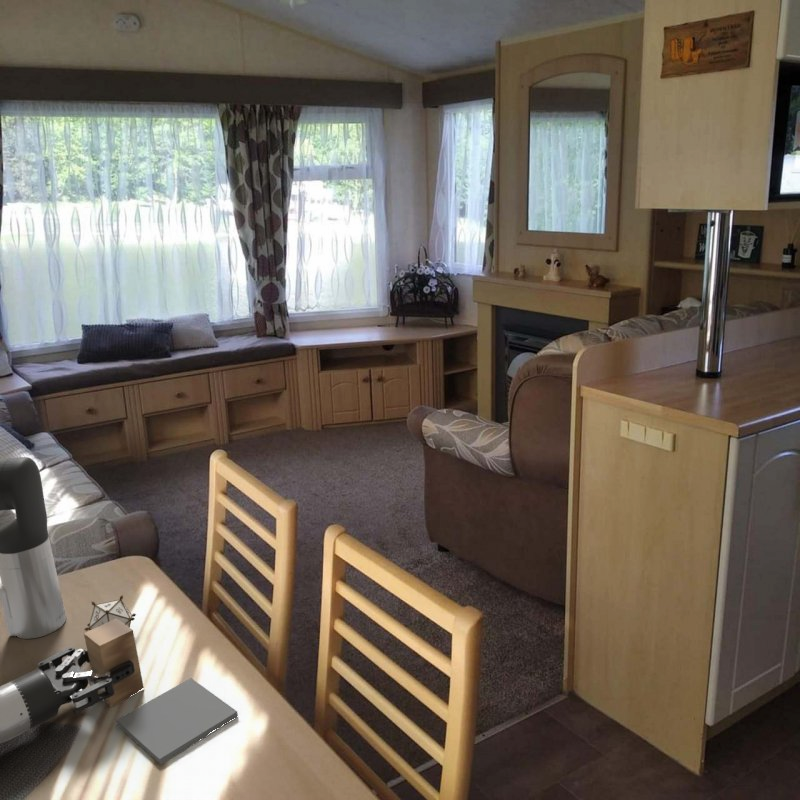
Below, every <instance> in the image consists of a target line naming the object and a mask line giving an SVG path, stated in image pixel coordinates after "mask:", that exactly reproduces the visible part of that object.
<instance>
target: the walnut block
mask: <svg viewBox="0 0 800 800" xmlns="http://www.w3.org/2000/svg"><path fill="white" fill-rule="evenodd" d="M83 637H84V640H85V641H84V642H85V645H86V649H87V652H88V656H89V661H90V663H89V665H90V671H94V672H95V673H100V672H107V671H108V670H110V669H112V668H114V667H116V666H118V665H120V664H122V663H124V662H126V661H128V660H130V661H132V662H133V664H134V670H135V671H134V673H133V674H132V675H131V676H129V677H127V678H124V679H123V680H121V681H119V682H117V683H115V684H114V686H113V688H114V693H115V694H114V695H113V696H111V697H109V698H107V699H105V700H104V702H106V703H107V704H108V705H109V706H110V707H111V708H113V707H115V706H116V705H118V704H120V703H122V702H124V701H126V700H128V699H130V698H131V697H130V696H131V695H133V694H135V693H137V692H138V691H139V690H141V689H142V688H144V683H143V678H142V671H141V666H140V662H139V661H140V660H139V657H138V649H137V645H136V640H135V633H134V629H132V628H131V627H130V628H129V627H128V626H127V625H125V624H124V623H122V622H121V621H120V620H118V619H117V618H116V619H114V620H112V621H109V622H107V623H105V624H103V625H101V626H99V627H96V628H94V629H92V630H88V631H85V632H84V633H83ZM96 681H97V683H98V682H101V681H103V679H101V680H96ZM144 689H145V688H144ZM103 692H105V690H103V691H98V695H99V694H101V693H103ZM137 694H138V693H137ZM135 695H136V694H135ZM133 696H134V695H133ZM129 697H130V698H129Z"/></svg>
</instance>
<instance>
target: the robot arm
mask: <svg viewBox="0 0 800 800" xmlns="http://www.w3.org/2000/svg"><path fill="white" fill-rule="evenodd" d="M0 511H1V512H2V511H15V518H14V519H12V520H10V521H8V522H6V523H4V524H2V525H0V582H1V587H0V603H1V608H2V612H3V617H4V620H5V624H6V629H7V634H8V636H9V637H16V636H17V638H19V639H26V640H27V639H36V638H41V637H43V636H47V635H49V634H51V633H54V632H55V631H57V630H58V629H60V628H61V627H62V626H63V625H64V624H65V623H66V621H67V616H66V608H65V606H64V605H65V604H64V601H63V596H62V592H61V587H60V583H59V577H58V573H57V569H56V565H55V564H56V563H55V560H54V555H53V554H54V553H53V550H52V545H51V541H50V540H51V539H50V537H49V536H50V535H49V531H48V514H47V509H46V503H45V495H44V489H43V482H42V477H41V473H40V469H39V467H38V465H37V463H36V462H35V461H34V459H32V458H30V457H28V456H16V457H15V456H14V457H6V458H5V457H4V458H3V457H2V458H0ZM65 657H66V658H65ZM64 658H65V659H64ZM63 659H64V660H63ZM86 663H88V664H90V661H89V656H88V652H87V648H85V649H83V648H78V649H75V646H69V647H67V648H65V649H62V650H61V651H59V652H57V653H55V654H53V655H50V656H49V657H47V658H45V659H43V660H41V661H39V662H38V663H37V667H38V669H37V668H36V669H34V670H32V671H30V672H28V673H26V674H24V675H22V676H19V677H18V678H15V679H13V680H11V681H8V682H7V683H5V684H3V685H1V686H0V744H2V743H5V742H8V741H10V740H12V739H14V738H16V737H18V736H21V734H24V733H26V732H27V731H29V730H32V729H33V728H35V727H38V726H39V725H41V724H43V723H45V722H47V721H49V720H50V719H53V718H54V717H56V716H57V715H58V714H59V710H60V708H61V707H62V706H64V705H66V704H70V703H71V704H72V705H73V709H74V712H76V713H80V712H82V711H84V710H86V709H88V708H90V707H92V706H94V705H96V704H99V703H100V702H103V701H105V699H107V698H109V697H111V696H113V695H114V694H115V693H114V688H113V686H114V684H115V683H117V682H119V681H121V680H123V679H124V678H127V677H129V676H131V675H132V674H133V673H134V671H135V670H134V664H133V662H132V661H130V660H128V661H126V662H124V663H122V664H120V665H118V666H116V667H114V668H112V669H110V670H108V671H107V672H100V673H95V672H94V671H91V670H89V671H86V670H84V669H83V667H84V666H85V665H86ZM101 679H103V681H101V682H98V683H97V681H96V680H101ZM88 685H89V686H88ZM103 690H105V692H103V693H101V694H99V695H98V691H103Z"/></svg>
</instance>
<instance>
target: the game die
mask: <svg viewBox="0 0 800 800" xmlns="http://www.w3.org/2000/svg"><path fill="white" fill-rule="evenodd" d="M123 598H124V595H122V594H121V596H120V597H119V599H115V600H111V601H105V602H102V603H97V604H96V602H95V601H90V602H91V605H92V606H93V610H92V613H91V617H90V620H89V621H90V622H89V623H87V624H86V625H87V627H85V628H84V629H83V631H85V632H88V631H90V630H92V629H94V628H96V627H99V626H101V625H103V624H105V623H107V622H109V621H112V620H114V619H116V618H117V619H118V620H120V621H121V622H122V623H124V624H125V625H127V626H128V627H129V628H131V623H132V621H134V620H136V619H135V618H134V617H136V616H137V614H136V613H131V612H130V610H129V609H128V607H127V605H126V604H125V603H124V602H123Z"/></svg>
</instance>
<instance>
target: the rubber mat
mask: <svg viewBox="0 0 800 800" xmlns="http://www.w3.org/2000/svg"><path fill="white" fill-rule="evenodd" d="M238 715H239V714H238V710H236V709H234V708H233V707H232V706H231V705H230V704H228V703H226V702H225V701H223V700H222V699H221V698H219V697H218V696H217V695H215V694H214V693H213V692H212V691H210V690H208V689H207V688H206V687H204V686H203V685H201V684H200V683H199V682H197V681H196V680H195V679H193V678H192V677H190V678H189V679H187V680H186V679H185V681H183V682H182V683H180V684H178V685H176V686H174V687H172V688H171V689H168V690H167V691H165V692H163V693H161V694H160V695H157V696H156V697H154V698H152V699H150V700H149V701H147V702H145V703H142V705H139V706H138V707H136V708H133V710H130V711H129V712H127V713H125V714H123V715H122V716H120V717H118V718H117V719H115V723H116V726H117V727H118V728H119V729H121V731H122V732H124V733H125V734H126V735H127V736H128V737H129V738H130V737H131V738H132V739H131V738H130V739H131V740H132V741H133V742H135V743H136V742H137V743H138V744H137V743H136V744H137V745H138V747H140V748H141V749H143V750H144V751H145V752H146V753H147V754H148V755H149V756H150V757H151V758H152V759H153V760H155V761H156V762H157V763H158V764H159V765H160V766H161V765H163V764H165V763H166V762H168V761H170V760H171V759H173V758H174V757H176V756H178V755H179V754H181V753H183V752H184V751H186V750H188V749H189V748H191V747H192V746H194V745H195V744H197V743H199V742H200V741H201V740H200V739H202V738H203V739H205V738H206V737H205V736H207V735H208V734H209V733H210V732H212V731H213V730H215V729H217V728H219V727H221V726H222V725H223V724H225V723H227V722H229V721H230V720H232V719H234V718H236V717H237V716H238ZM238 717H239V716H238ZM238 717H237V718H238ZM237 718H236V719H237ZM234 720H235V719H234ZM232 721H233V720H232ZM229 723H230V722H229ZM221 728H222V727H221ZM208 736H209V735H208ZM208 736H207V737H208ZM204 737H205V738H204ZM203 739H202V740H203ZM199 740H200V741H199ZM198 741H199V742H198ZM196 742H197V743H196ZM193 744H194V745H193ZM190 746H191V747H190Z"/></svg>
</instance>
